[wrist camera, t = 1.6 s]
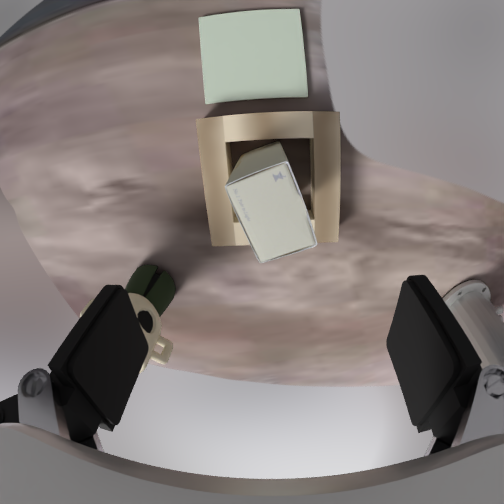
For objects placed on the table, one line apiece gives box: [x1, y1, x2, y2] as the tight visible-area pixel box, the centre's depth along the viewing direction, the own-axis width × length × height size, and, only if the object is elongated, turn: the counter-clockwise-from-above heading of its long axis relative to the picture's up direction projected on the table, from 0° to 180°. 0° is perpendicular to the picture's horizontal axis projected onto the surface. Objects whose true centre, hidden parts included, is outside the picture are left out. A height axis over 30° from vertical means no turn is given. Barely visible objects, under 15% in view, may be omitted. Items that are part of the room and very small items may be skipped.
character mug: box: [80, 265, 176, 374], centre depth 30 cm, size 11×7×13 cm, turn 60°
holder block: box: [196, 111, 341, 246], centre depth 27 cm, size 13×13×3 cm
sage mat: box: [199, 9, 308, 104], centre depth 22 cm, size 10×10×1 cm
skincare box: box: [225, 141, 317, 263], centre depth 23 cm, size 6×4×12 cm
